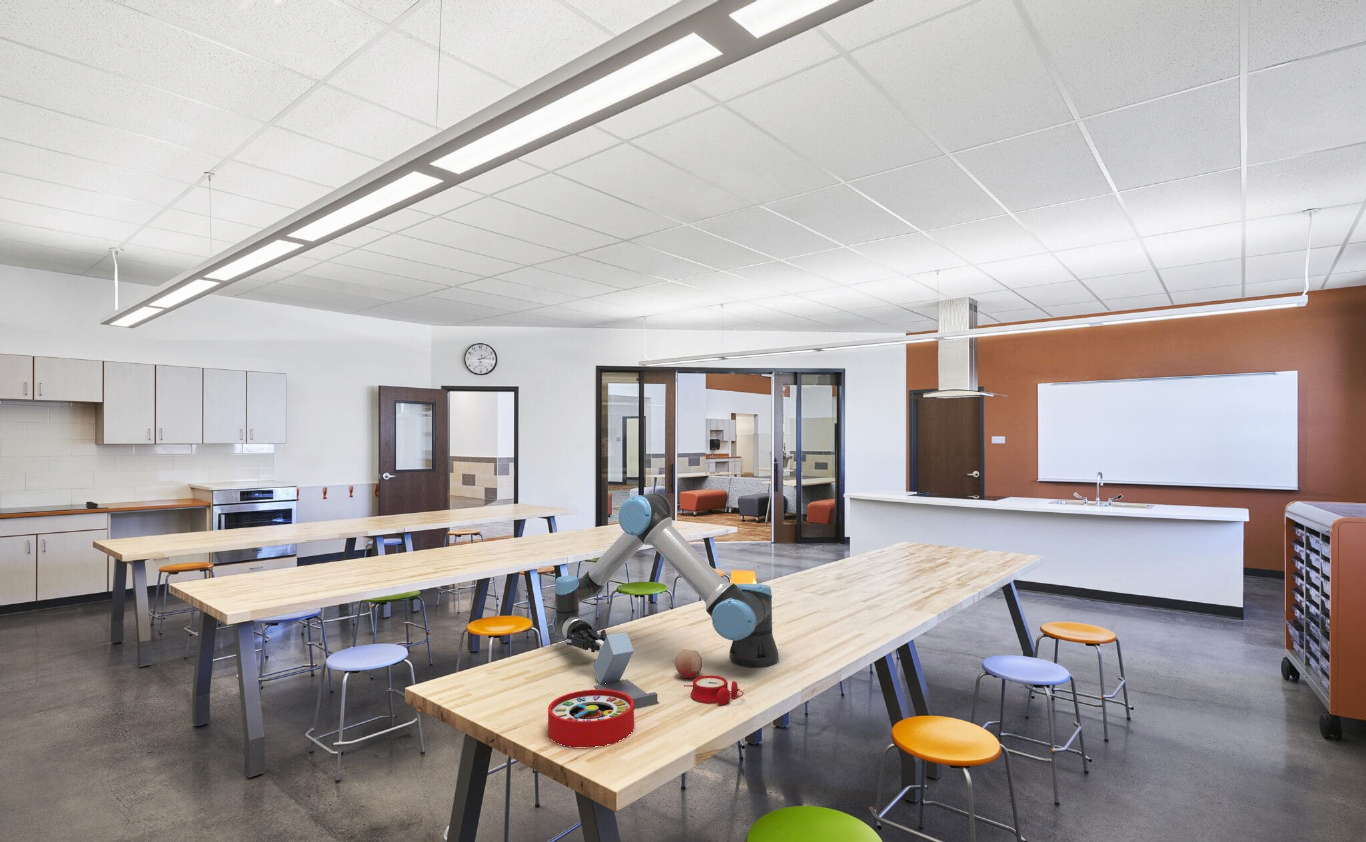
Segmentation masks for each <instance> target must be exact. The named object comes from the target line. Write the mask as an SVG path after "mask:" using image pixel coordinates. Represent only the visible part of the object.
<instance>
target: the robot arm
mask: <svg viewBox="0 0 1366 842" xmlns="http://www.w3.org/2000/svg"><path fill="white" fill-rule="evenodd" d="M672 516H673V508H672V504H671V503H670V501H669V499H668V498H667V497H666V496H664V495H662V494H660V493H649V494H647V493H646V494H643V495H640V494H638V495H634V496H631V497H629V498H627V499H625V500H624V501H623V502H622V504H621V505H620V507H619V509H618V523H619V525H620V528H621V530H622V531H623V532H622V534H621V535H620V536H619V537H618V538H617V539H616V540H615V542H613V543H612V544H611V546H610V547H609V548H608V549H607V550H606V551H605V552H604V553H603V554H602V555H601V556H600V557H599V558H598V559H597V560H596V562H594V564H593V565H592V566H591V567H590V568H589V570H587V572H585V573H584V574H583V576H582V577H577V576H576V575H563V576H558V577H557V578H555V587H554V593H555V594H554V595H555V596H554V597H555V614H554V616H553V618H552V621H551V626H552V629H553V630H554V631H555V632H556V634H557V635H559V636H560V637H562V638H564V639H565V641H566V643H565V644H566V645H567V646H572V647H575V648H578V649H580V650H583V651H589V649H590V652H591V653H595V652H596V651H597V652H599V653H600V650H601V648H602V646H603V643H604V641H605V639H606V636H607V634H606V633H607V631H606V629H602V630H600V631H599V632H598V631H597V630H595V629H594V628H593V627H592V625H591V624H589V623H588V622H586V621H585V620H584V619H582V618H580V617H579V616H580V614H579V613H580V611H579V610H580V605H579V604H580V603H581V602H583V601H586V600H588V599H591V598H595V597H597V596H598V595H600V594H601V593H602V592H603V591H604V588H605V585H606V584H607V583H608V582H609V581H610V580H611V579H612V578H613V576H615V575H616V574H617V572H619V571H620V569H622V568H623V567H624V565H625V564H626V563H627V562H629V560H630V559H631V558H632V557H633V556H634V555H635V554H636V553H637V552H638V551H639V550H640V549H641V548H642V546H652V547H653V548H654V549H655V550H656V551H657V552H658V553H659V555H661V557H662V558H663V559H664V560H665V561H666V562H667V563H668V565H670V566H671V568H673V570H674V571H676V573H677V574H678V575H679V577H680V578H682V579H683V580H684V582H685V583H686V584H687V585H688V586H689V587H691V590H693V591H694V592H695V593H696V594H697V595H698V596H699V598H700V599H702V601H703V602H704V604H705V611H706V613H707V614H708V615H709V616H710V617H711V621H712V627H713V628H714V630H715V632H716V633H717V634H718V635H719V636H721V637H722V638H723V639H725V640H728V641H731V645H730V649H729V653H728V654H729V656H728V657H729V661H730V662H731V663H732V664H734V665H735V664H736V665H737V666H742V667H747V668H761V667H762V668H763V667H768V666H772V665H775V664H777V663H778V662H779V659H780V658H779V649H778V646H777V644H776V641H775V639H774V635H773V602H772V599H773V594H772V588H771V586H769V585H767V584H761V583H757V584H745V583H743V584H736V585H735V583H730V582H727V581H726V580H725V579H724V578H723V577H722V576H721V575H720V574H719V573H718V572H717V571H716V570H715V569H714V568H713V567H712V566H711V565H710V564H709V563H708V562H707V561H706V560H705V558H704V557H702V555H701V554H700V553H699V552H698V551H697V550H696V549H695V547H693V546H692V545H691V544H690V543H689V542H688V541H687V540H686V539H685V538H684V536H683V535H682V534H681V533H680V532H679V531H678V530H677V529H676V528H675V527H674V526H673V518H672Z"/></svg>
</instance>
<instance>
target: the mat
mask: <svg viewBox="0 0 1366 842" xmlns="http://www.w3.org/2000/svg"><path fill="white" fill-rule="evenodd" d="M593 688H595V690H596V689H601V690H613V691H618V692H622V693H624V694H627V695H628V696H630V697H631V698H632V699H633V701H634V710H636V709H641V708H644V707H649V706H653V705H658V704H660V702H659V701H658V693H657V692H655V691H653V692H649V693H647V692H646V691H645V690H643V689H641V688H640V687H638V685H636V684H634V683H633V682H632V681H630V680H629V679H620V681H615V682H611V683H606V684H601V685H600V684H596V685H593ZM635 708H636V709H635Z"/></svg>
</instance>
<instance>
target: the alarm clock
mask: <svg viewBox="0 0 1366 842" xmlns="http://www.w3.org/2000/svg"><path fill="white" fill-rule="evenodd" d="M683 687H691V688H692V689H691V692H690V698H691V699H692V700H693V701H695V702H698V703H703V704H718V705H720V706H723V705H724V704H725V705H726V704H728V703H729V702H730V699H738V698H741V697H742V696H743V695H744V694H745V693H744V691H742V690H741V689H740V688H739V687H738V682H737V681H735V680H732V682H731V685H730V688H731V689H730V690H729V689H728V687H729V686H728V680H727V679H726V678H725V677H722V676H720V675H711V674H710V675H709V674H708V675H702V676H696V677H694V678H693V680H692V684H691V685H689V684H688V685H687V684H686V685H685V684H684V685H683ZM738 692H741V693H742V694H740V695H738ZM725 705H724V706H725Z"/></svg>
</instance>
